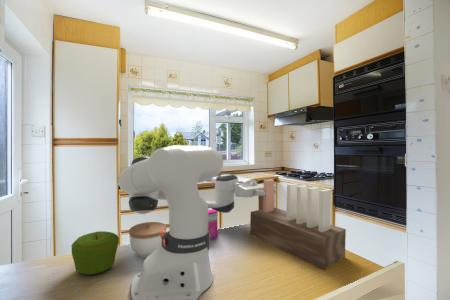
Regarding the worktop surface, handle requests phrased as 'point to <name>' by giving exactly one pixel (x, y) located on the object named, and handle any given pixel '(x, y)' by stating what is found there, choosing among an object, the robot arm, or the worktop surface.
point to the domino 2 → (291, 201)
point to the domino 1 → (268, 196)
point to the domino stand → (299, 238)
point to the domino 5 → (324, 210)
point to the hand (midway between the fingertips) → (270, 192)
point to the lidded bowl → (146, 238)
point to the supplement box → (212, 223)
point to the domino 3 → (301, 204)
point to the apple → (95, 252)
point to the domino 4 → (312, 207)
